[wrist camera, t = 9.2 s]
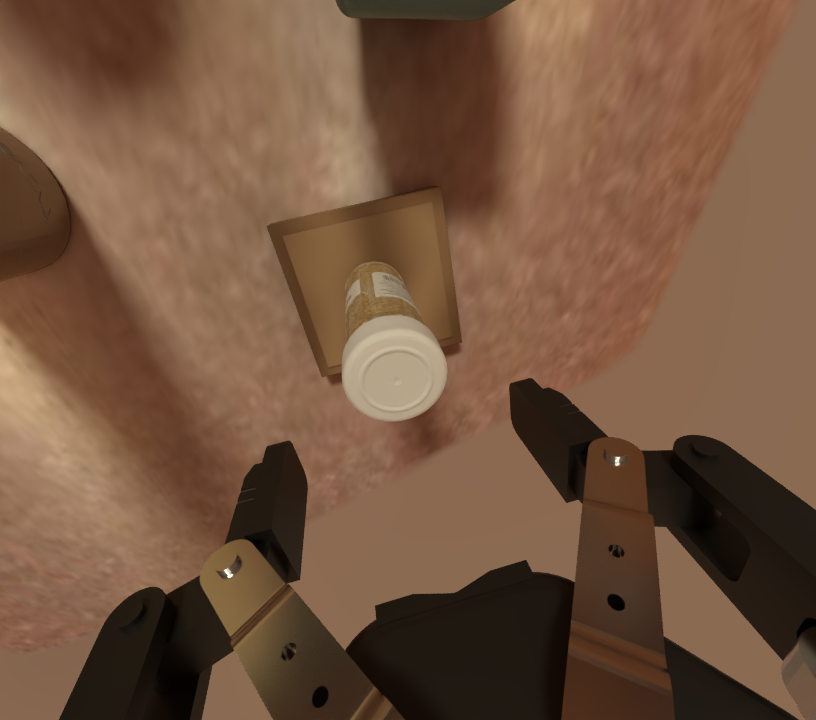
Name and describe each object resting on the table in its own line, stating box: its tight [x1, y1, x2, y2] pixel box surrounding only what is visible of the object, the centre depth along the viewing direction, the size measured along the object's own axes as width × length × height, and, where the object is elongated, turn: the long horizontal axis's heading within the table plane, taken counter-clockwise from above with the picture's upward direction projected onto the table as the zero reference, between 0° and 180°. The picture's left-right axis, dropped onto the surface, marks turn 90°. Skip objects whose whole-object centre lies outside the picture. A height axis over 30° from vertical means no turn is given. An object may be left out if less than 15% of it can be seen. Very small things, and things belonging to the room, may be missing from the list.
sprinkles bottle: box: [342, 261, 448, 422], centre depth 21 cm, size 5×5×14 cm
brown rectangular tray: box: [267, 186, 462, 377], centre depth 28 cm, size 12×12×2 cm
